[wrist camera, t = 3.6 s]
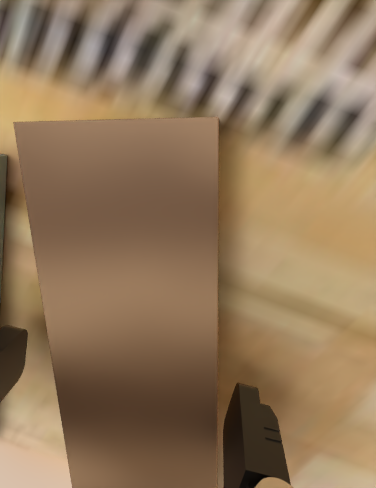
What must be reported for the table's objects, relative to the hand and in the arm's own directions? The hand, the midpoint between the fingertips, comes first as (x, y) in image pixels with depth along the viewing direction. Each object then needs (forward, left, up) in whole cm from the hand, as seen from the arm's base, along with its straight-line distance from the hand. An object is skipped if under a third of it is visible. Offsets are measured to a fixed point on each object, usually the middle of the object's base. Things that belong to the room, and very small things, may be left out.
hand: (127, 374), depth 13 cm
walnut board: (-1, 0, -3) cm, 3 cm away
